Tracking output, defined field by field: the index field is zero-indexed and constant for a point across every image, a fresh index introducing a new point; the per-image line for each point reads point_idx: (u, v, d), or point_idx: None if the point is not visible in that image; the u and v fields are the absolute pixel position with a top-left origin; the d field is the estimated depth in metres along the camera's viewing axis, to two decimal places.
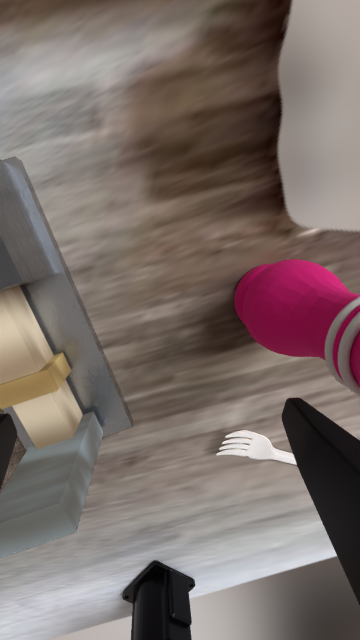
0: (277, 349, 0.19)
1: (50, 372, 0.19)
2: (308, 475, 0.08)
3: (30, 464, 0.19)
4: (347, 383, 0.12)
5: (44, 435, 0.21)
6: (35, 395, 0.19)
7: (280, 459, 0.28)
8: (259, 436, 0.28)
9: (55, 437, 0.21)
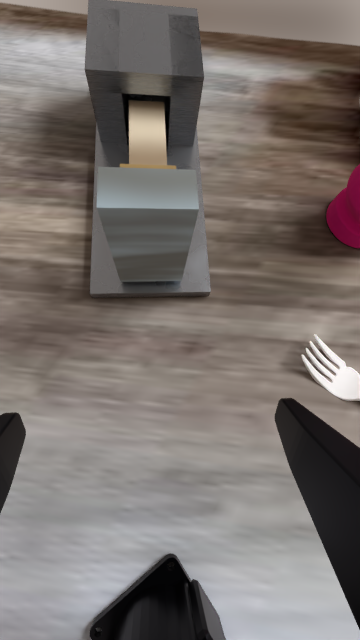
0: None
1: None
2: (300, 476, 0.08)
3: None
4: None
5: None
6: None
7: None
8: (348, 367, 0.23)
9: None
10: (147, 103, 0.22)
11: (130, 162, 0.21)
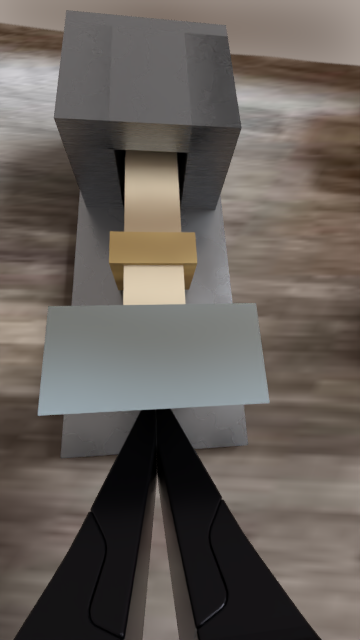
0: None
1: None
2: (159, 488, 0.07)
3: None
4: None
5: None
6: (165, 259, 0.13)
7: None
8: None
9: None
10: None
11: (126, 228, 0.14)
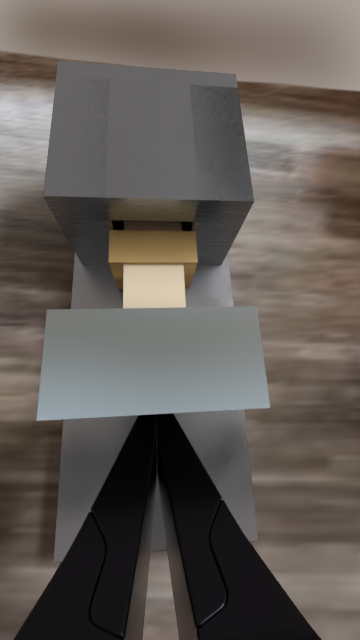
0: None
1: None
2: (159, 488, 0.07)
3: None
4: None
5: None
6: (165, 258, 0.13)
7: None
8: None
9: None
10: None
11: (126, 226, 0.14)
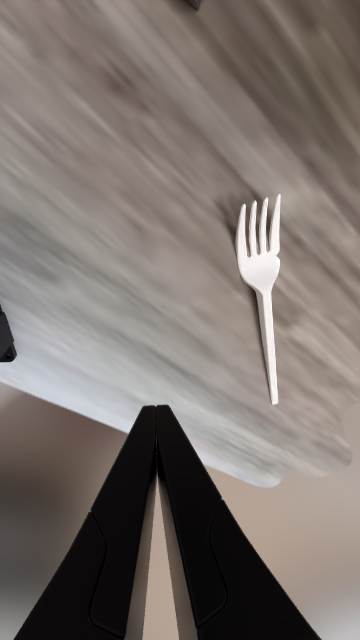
0: None
1: None
2: (159, 487, 0.07)
3: None
4: None
5: None
6: None
7: (266, 302, 0.20)
8: (276, 258, 0.19)
9: None
10: None
11: None
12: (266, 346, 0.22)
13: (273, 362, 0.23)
